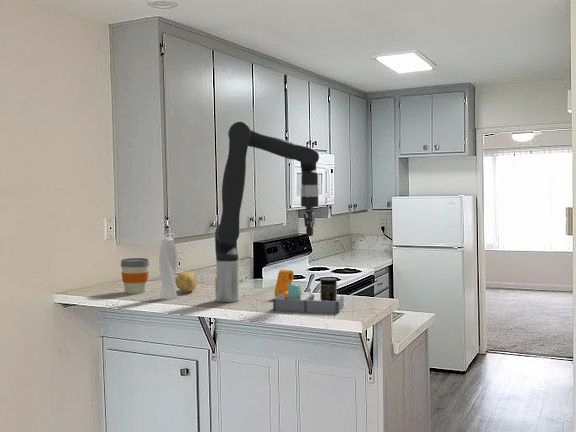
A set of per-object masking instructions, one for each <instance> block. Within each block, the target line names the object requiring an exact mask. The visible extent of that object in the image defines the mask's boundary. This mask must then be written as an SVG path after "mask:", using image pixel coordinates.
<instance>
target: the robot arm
mask: <svg viewBox="0 0 576 432" xmlns="http://www.w3.org/2000/svg"><path fill="white" fill-rule="evenodd" d="M227 133H228V134H227V135H228V140H229V141H228V142H229V143H228V153H227V154H228V155H227V159H226V163H225V167H224V171H223V174H222V175H223V176H222V185H221V203H222V212H221V219H220V223H219V224H218V225H217V226H216V228H215V233H214V241H215V242H214V243H215V245H214V246H215V249H214V250H215V262H216V268H215V269H216V270H215V271H216V274H215V275H216V277H215V279H214V281H215V285H214V287H215V290H214V291H215V297H214V298H215V301H217V303H234V302H235V303H236V302H238V301H239V252H238V239H239V236H240V215H241V214H240V213H241V208H242V203H243V198H244V192H245V191H244V190H245V184H246V169H247V167H246V166H247V164H246V163H247V162H246V161H247V154H248V153H247V151H248V147H251V148H255V149H259V150H262V151H265V152H267V153H271V154H273V155H277V156H278V157H282V158H285V159H289V160H294V161H298V162H300V170H301V187H300V207H301V208H302V207H303V208H305V210H304V212H303V220H304V227H305V234H306V237H312V236H313V235H314V226H315V222H316V221H315V220H316V211H315V210H314V209H315V208H317V207H319V176H318V172H317V163H318V161H320V160H319V159H320V154H319V152H318V151H317V150H316V149H314V148H311V147H308V146H304V145H299V144H297V143H294V142H291V141H288V140H286V139H283V138H279V137H274V136H269V135H265V134H261V133H259V132H256V131H255V130H253V129H251V128H250V126H249V125H248V124H247V123H246V122H244V121H236V122H234V123H232V124H231V126H230V127H229V129H228V132H227Z"/></svg>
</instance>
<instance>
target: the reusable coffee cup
mask: <svg viewBox="0 0 576 432" xmlns="http://www.w3.org/2000/svg"><path fill="white" fill-rule="evenodd" d="M149 263H150V262H149V258H145V257H143V258H142V257H135V258H134V257H133V258H124V259H123V258H122V259H120V267H121V273H120V274H121V278H122V282H123V285H124V294H127V295H128V294H129V295H138V294H144V293H146V291H147V290H146V287H147V282H148V280H149V279H148V278H149V271H148V270H149V265H150V264H149Z"/></svg>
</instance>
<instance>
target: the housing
mask: <svg viewBox="0 0 576 432" xmlns="http://www.w3.org/2000/svg"><path fill="white" fill-rule="evenodd" d="M301 287H302V285H301V284H298V283H291V284H289V285H288V299H286V298H285V293H281V294H280V295H279V296H277V297H274V298H273V299H272V301H273V302H272V310H273V311H275V312H295V313H296V312H299V313H300V312H301V313H321V314H322V313H323V314H339V313H340V312H341V311H342V309H343V308H344V307H343V306H345V305H344V303H345V302H344V298H345V296H344V295H339V297H337V301H320V300H314V298H315V294H311V293H310V295H308V296H307V297H306V298H305V299H301V295H302V290H301V289H302V288H301ZM340 310H341V311H340Z"/></svg>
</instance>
